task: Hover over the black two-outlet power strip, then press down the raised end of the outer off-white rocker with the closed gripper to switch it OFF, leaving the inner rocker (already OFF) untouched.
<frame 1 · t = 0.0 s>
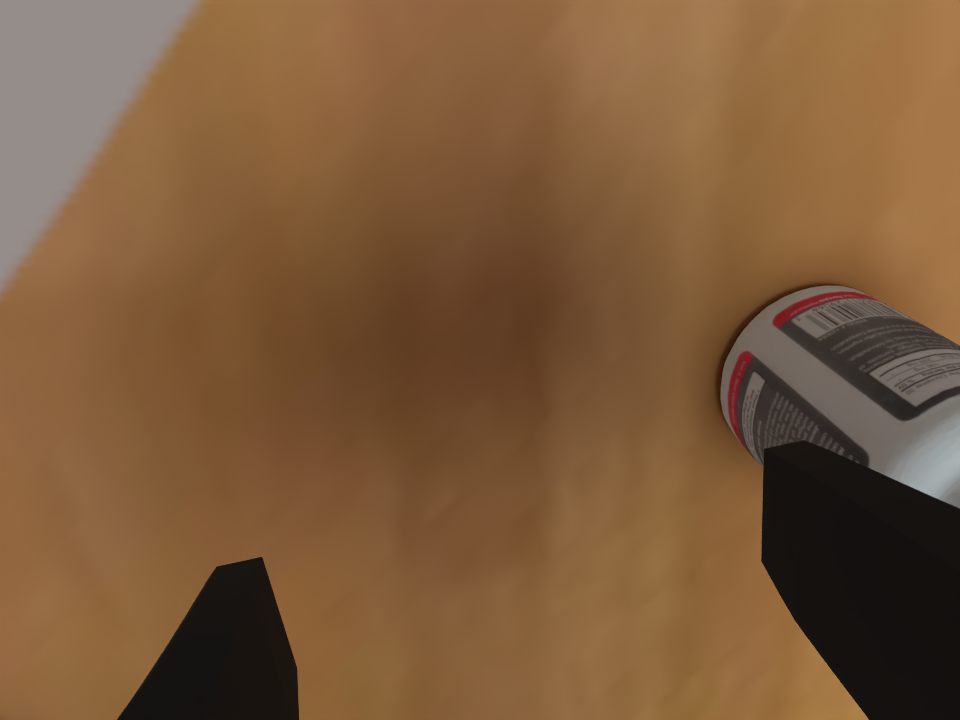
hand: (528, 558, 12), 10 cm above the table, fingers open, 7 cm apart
pill bottle: (800, 366, 24), on the table
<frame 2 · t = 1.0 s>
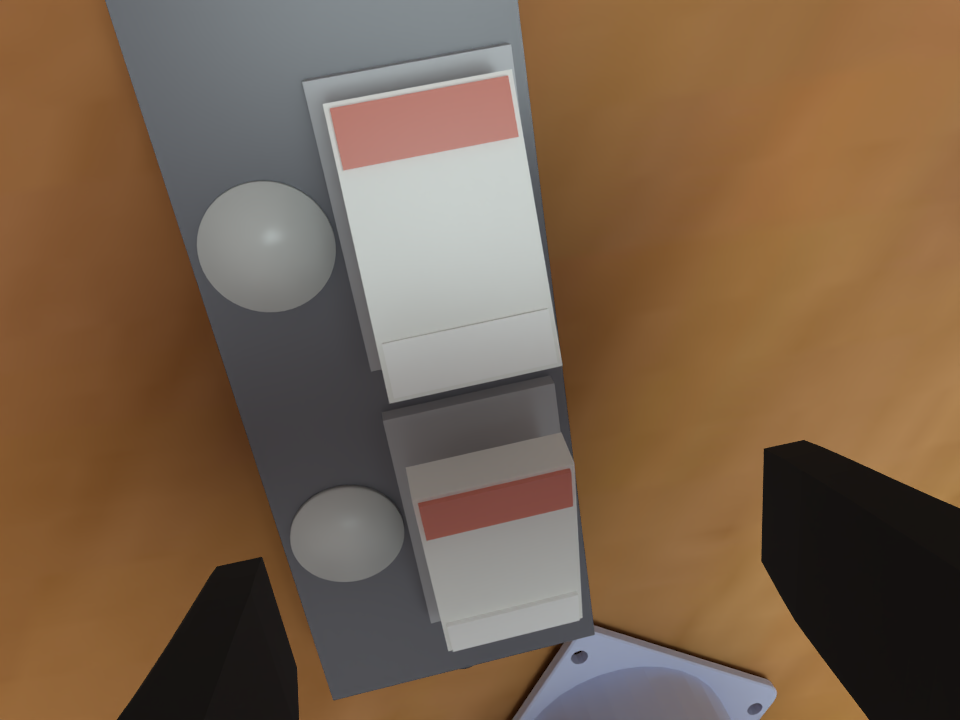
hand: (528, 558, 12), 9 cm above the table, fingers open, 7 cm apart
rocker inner: (501, 550, 18), point 5 cm above the table, hinge at -13.0°
power strip: (394, 335, 20), on the table
rocker outer: (446, 240, 15), point 5 cm above the table, hinge at 13.0°
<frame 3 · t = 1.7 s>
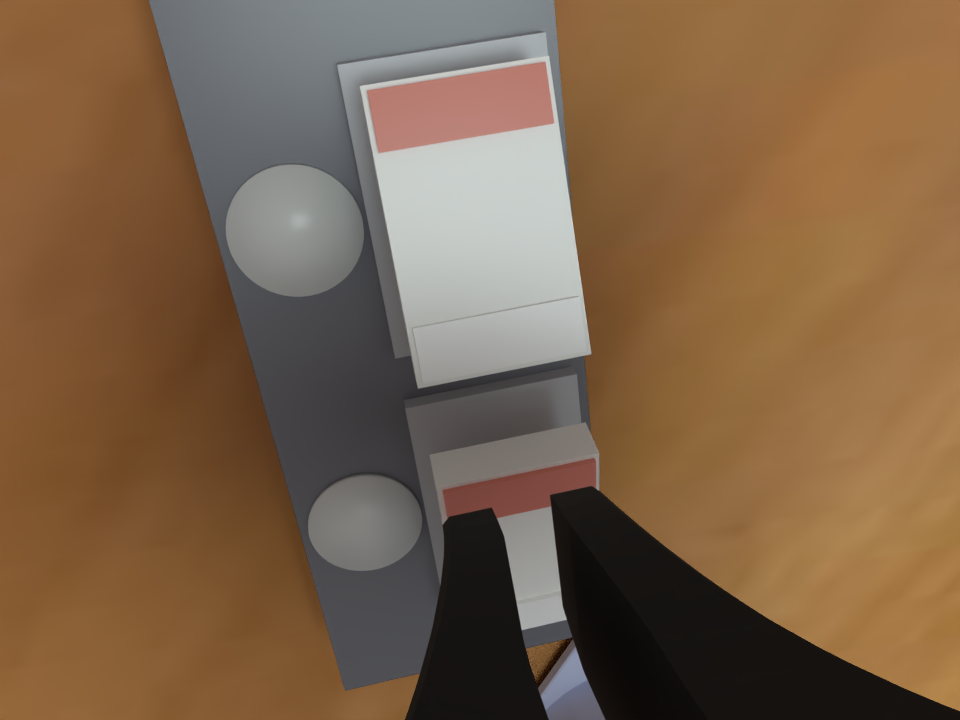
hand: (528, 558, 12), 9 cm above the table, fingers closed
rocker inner: (521, 540, 18), point 5 cm above the table, hinge at -13.0°
power strip: (414, 325, 20), on the table
rocker outer: (478, 226, 14), point 5 cm above the table, hinge at 13.0°
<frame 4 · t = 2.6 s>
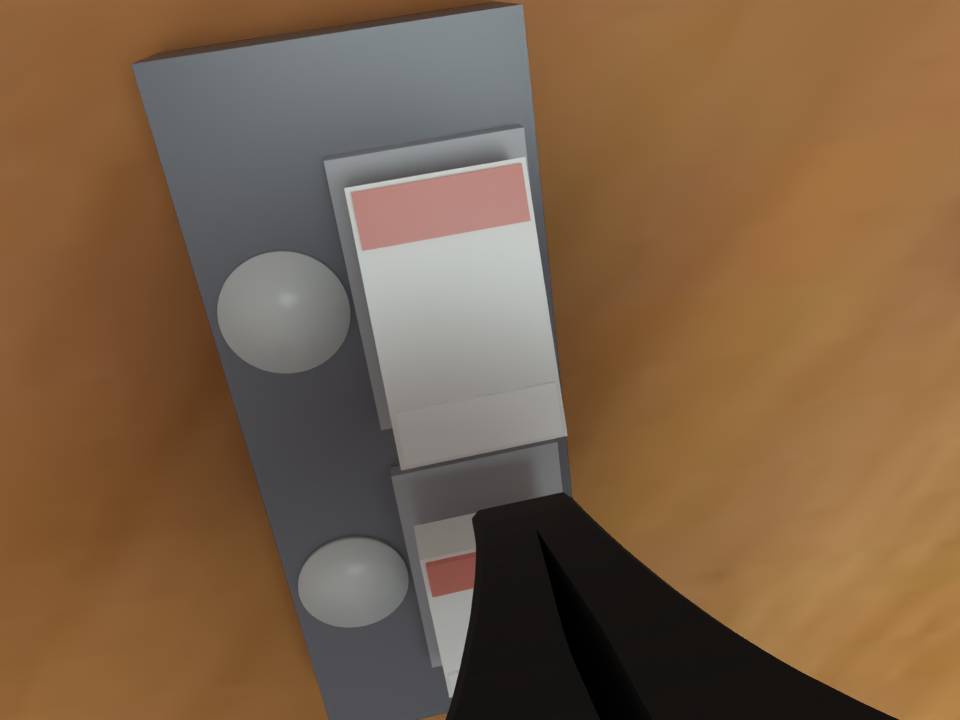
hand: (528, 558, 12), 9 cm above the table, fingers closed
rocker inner: (503, 604, 18), point 5 cm above the table, hinge at -13.0°
power strip: (401, 387, 21), on the table
rocker outer: (458, 314, 15), point 5 cm above the table, hinge at 13.0°
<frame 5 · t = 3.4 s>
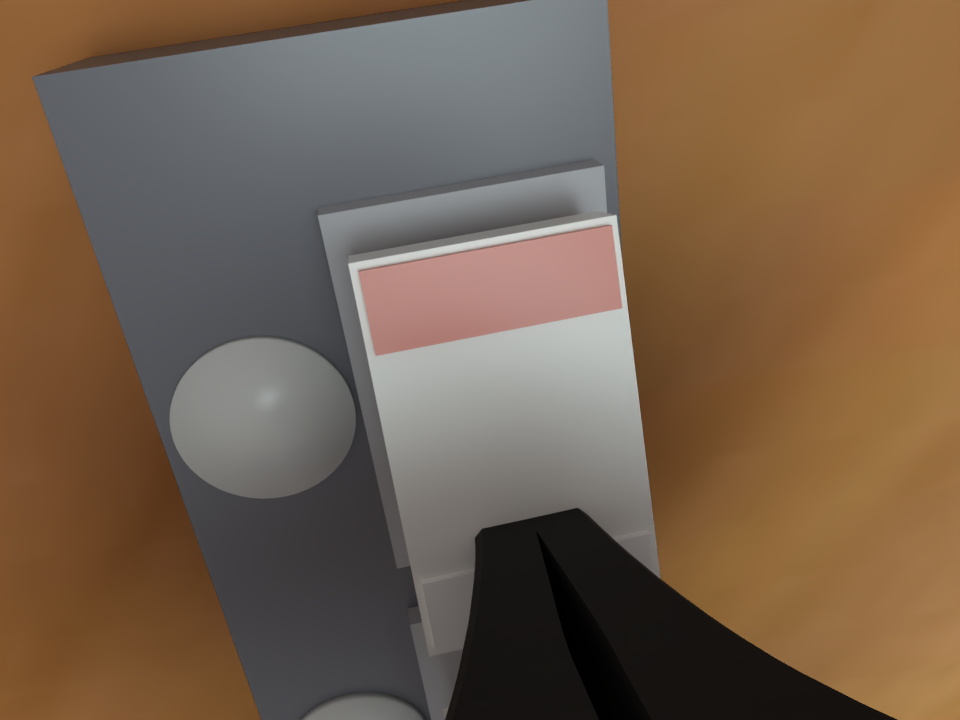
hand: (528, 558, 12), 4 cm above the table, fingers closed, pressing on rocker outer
power strip: (420, 486, 16), on the table
rocker outer: (512, 436, 11), point 5 cm above the table, hinge at 11.8°, touching gripper
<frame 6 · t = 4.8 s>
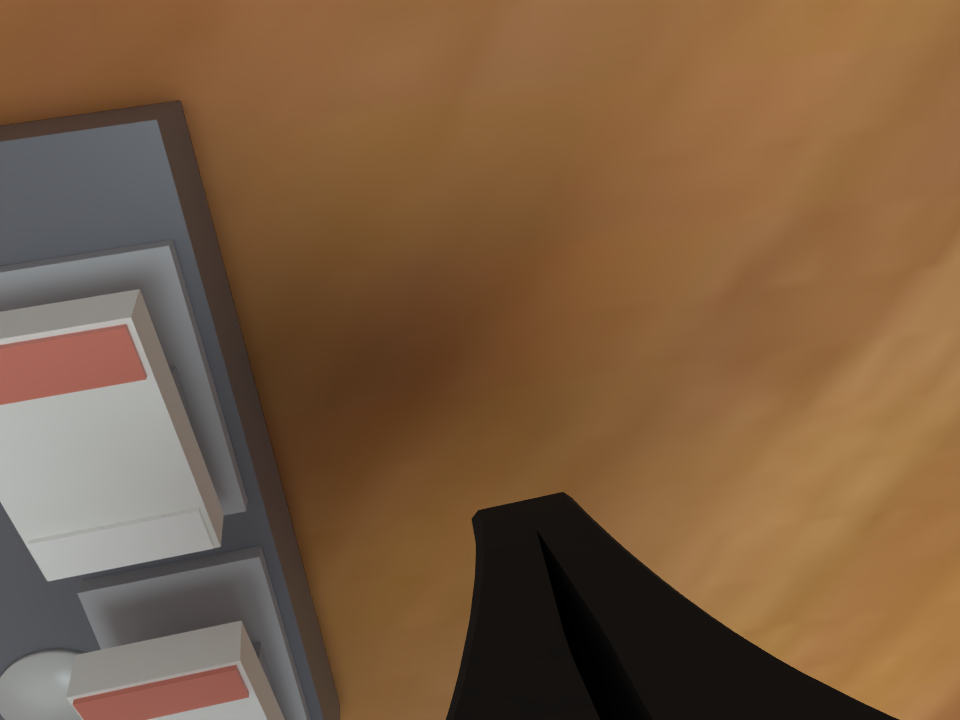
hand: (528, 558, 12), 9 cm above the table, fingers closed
power strip: (128, 485, 20), on the table
rocker outer: (89, 447, 14), point 5 cm above the table, hinge at -9.7°
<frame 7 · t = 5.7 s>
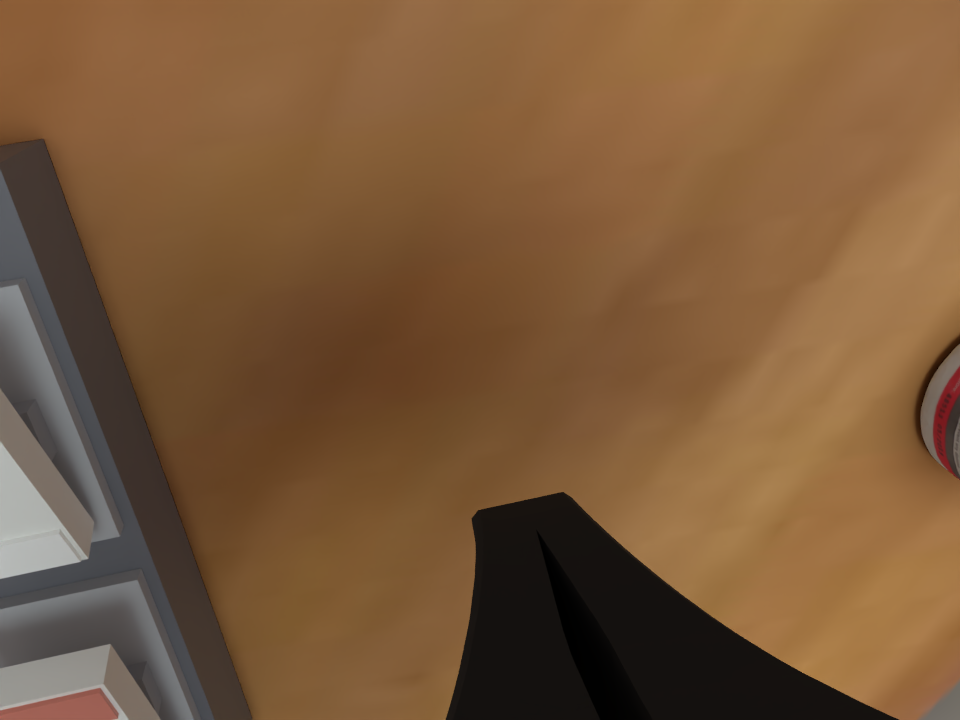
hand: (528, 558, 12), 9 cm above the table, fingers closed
power strip: (22, 510, 20), on the table
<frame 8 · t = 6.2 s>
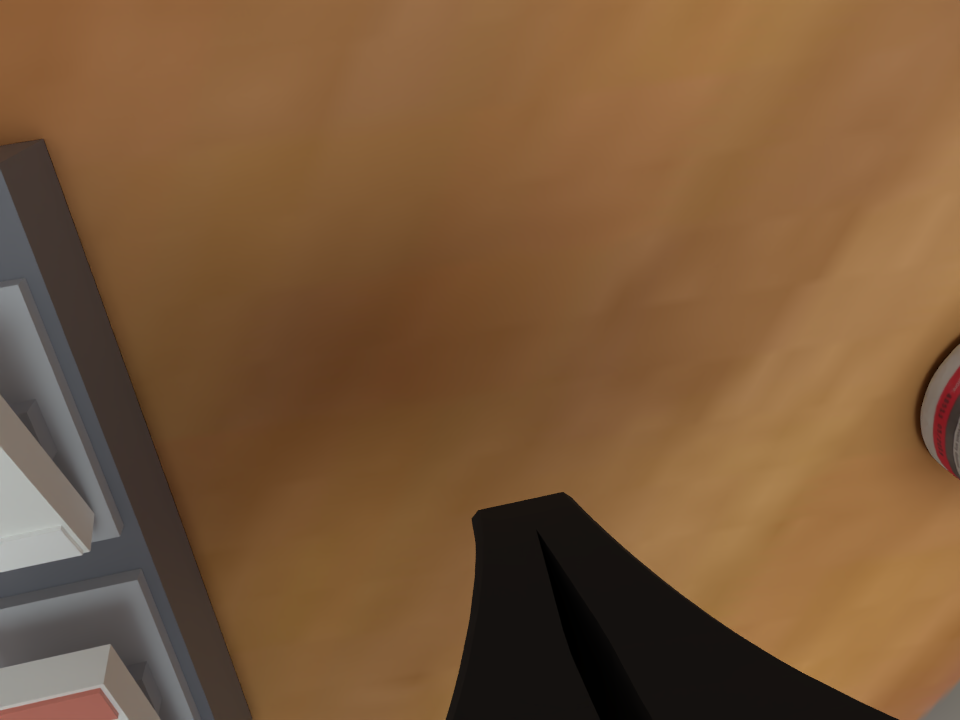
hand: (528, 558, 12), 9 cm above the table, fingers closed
power strip: (22, 510, 20), on the table
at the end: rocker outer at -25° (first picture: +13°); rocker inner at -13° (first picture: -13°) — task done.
